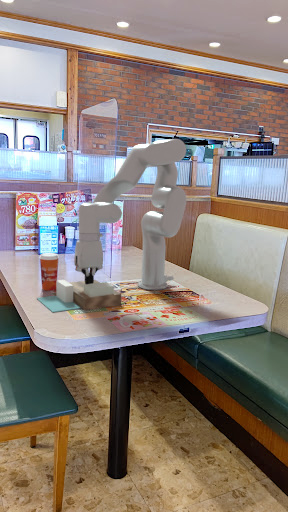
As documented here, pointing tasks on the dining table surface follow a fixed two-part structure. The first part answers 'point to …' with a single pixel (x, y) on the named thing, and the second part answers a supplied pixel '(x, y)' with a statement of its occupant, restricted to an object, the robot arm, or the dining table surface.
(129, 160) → the robot arm
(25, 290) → the dining table surface
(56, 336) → the dining table surface
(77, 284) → the riser
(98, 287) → the pale green block
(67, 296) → the white rectangular block
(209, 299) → the dining table surface
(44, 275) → the paper cup
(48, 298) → the mat
